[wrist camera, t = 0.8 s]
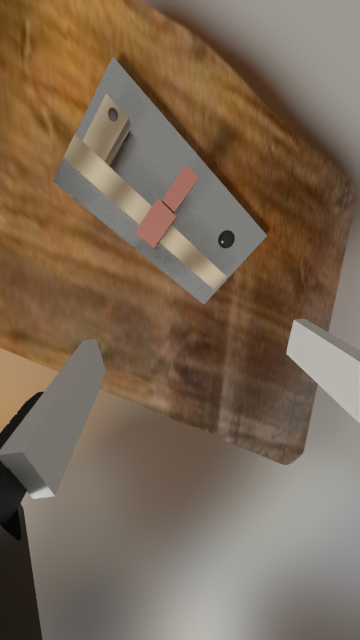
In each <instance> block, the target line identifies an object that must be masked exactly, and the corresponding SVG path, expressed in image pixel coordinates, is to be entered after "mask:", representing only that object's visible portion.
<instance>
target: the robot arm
mask: <svg viewBox="0 0 360 640" xmlns="http://www.w3.org/2000/svg"><path fill="white" fill-rule="evenodd" d="M286 354H287V355H288V356H289V357H290V358H291V359H292V360H293V361H295V362H296V363H297V364H298V365H299V366H300V367H301V368H302V369H303V370H304V371H305V372H306V373H307V374H308V375H309V376H310V377H311V378H312V379H313V380H315V381H316V382H317V383H318V384H319V385H320V386H321V387H322V388H323V389H324V390H325V391H326V392H327V393H328V394H329V395H330V396H331V397H333V398H334V400H336V401H337V402H338V403H339V404H340V405H341V406H342V407H343V408H344V409H345V410H346V411H347V412H348V413H349V414H351V416H352V417H353V418H354V419H356V420H357V421H358V422H359V423H360V351H359V350H357V349H356V348H354V347H352V346H350V345H349V344H347V343H345V342H344V341H342V340H340V339H338V338H336V337H335V336H333V335H332V334H330V333H328V332H326V331H325V330H323V329H321V328H320V327H318V326H316V325H314V324H313V323H311V322H309V321H308V320H306V319H298V320H294V322H293V326H292V330H291V334H290V339H289V343H288V347H287V352H286ZM105 374H106V371H105V367H104V364H103V361H102V357H101V354H100V351H99V348H98V344H97V341H96V339H90V340H83V342H82V343H81V344H80V345H79V347H78V348H77V349H76V351H75V352H74V353H73V355H72V356H71V357H70V359H69V360H68V361H67V363H66V364H65V365H64V367H63V368H62V369H61V370H60V372H59V373H58V375H57V376H56V377H55V378H54V380H53V381H52V382H51V384H50V385H49V386H48V388H47V389H46V390H45V392H38V393H37V394H35V395H34V396H33V397H32V398H30V399H29V400H28V401H26V403H25V404H24V405H23V406H22V407H21V409H20V410H19V411H18V412H17V415H15V416H14V417H13V418H12V419H11V421H10V423H9V424H7V426H6V427H5V428H4V429H3V430H2V432H1V433H0V640H42V634H41V628H40V620H39V613H38V606H37V600H36V593H35V586H34V580H33V572H32V566H31V558H30V551H29V545H28V538H27V531H26V524H25V517H24V511H23V507H22V505H21V501H22V499H23V497H24V495H25V493H26V491H27V492H28V493H29V494H30V495H31V497H32V498H33V499H37V498H43V497H51V496H55V495H56V492H57V490H58V488H59V485H60V483H61V480H62V478H63V475H64V473H65V470H66V468H67V466H68V463H69V461H70V459H71V456H72V454H73V451H74V449H75V446H76V444H77V442H78V439H79V437H80V434H81V432H82V430H83V427H84V425H85V422H86V420H87V418H88V415H89V413H90V410H91V408H92V405H93V403H94V401H95V398H96V396H97V393H98V391H99V389H100V386H101V384H102V381H103V379H104V377H105Z"/></svg>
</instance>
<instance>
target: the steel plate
mask: <svg viewBox="0 0 360 640" xmlns="http://www.w3.org/2000/svg"><path fill="white" fill-rule="evenodd" d="M106 94H107V95H108V96H109V97H110V98H111V99H112V100H113V102H114V103H115V104H116V105H117V106H118V107H119V108H120V109H121V110H122V111H123V112H124V113H125V114H126V116H127V117H128V118H129V121H130V124H131V129H130V131H129V132H128V134H127V136H126V138H125V140H124V141H123V143H122V145H121V147H120V148H119V150H118V152H117V154H116V156H115V157H114V159H113V161H112V163H111V164H110V166H109V167H110V168H112V169H113V170H114V171H115V172H116V173H117V174H118V175H119V176H120V177H121V178H122V179H123V180H124V181H125V182H126V183H128V184H129V185H130V186H131V187H132V188H133V189H134V190H135V191H136V192H137V193H138V194H139V195H140V196H141V197H142V198H144V199H145V200H146V201H147V202H148V203H149V204H150V205H151V206H153V204H154V203H155V201H156V200H157V198H158V199H159V200H160V201H161V202H162V199H163V197H164V196H165V194H166V193H167V192H168V190H169V189H170V187H171V186H172V184H173V183H174V181H175V180H176V178H177V177H178V175H179V174H180V172H181V171H182V170H183V168H184V167H185V165H186V164H187V166H188V167H189V168H190V169H191V170H192V171H193V172H194V173H195V174H196V176H197V177H198V178H199V179H198V181H197V182H196V184H195V185H194V187H193V188H192V189H191V191H190V192H189V193H188V195H187V196H186V198H185V199H184V200H183V202H182V203H181V205H180V206H179V207H178V209H177V210H176V212H175V213H173V212H172V211H171V210H170V209H169V208H168V207H167V208H168V209H169V210H170V211H171V212H172V213H173V214H174V215H175V216H176V219H175V221H174V222H173V223H172V224H171V225H172V226H173V227H174V228H176V229H177V230H178V231H179V232H180V233H181V234H182V235H183V236H184V237H185V238H186V239H187V240H188V241H189V242H190V243H192V244H193V245H194V246H195V247H196V248H197V249H198V250H199V251H200V252H201V253H202V254H203V255H204V256H205V257H206V258H208V259H209V260H210V261H211V262H212V263H213V264H214V265H215V266H216V267H217V268H218V269H219V270H220V271H221V272H222V273H224V274H225V275H226V276H227V277H226V278H225V279H224V281H223V282H222V283H221V284H220V285H219V286H218V287H217V288H216V289H215V290H214V289H212V288H211V287H210V286H209V285H208V284H207V283H206V282H204V281H203V280H202V279H201V278H200V277H199V276H198V275H196V274H195V273H194V272H193V271H192V270H191V269H190V268H188V267H187V266H186V265H185V264H184V263H183V262H182V261H180V260H179V259H178V258H177V257H176V256H175V255H174V254H172V253H171V252H170V251H169V250H168V249H167V248H166V247H164V246H163V245H162V244H161V243H160V242H158V244H157V245H156V247H155V248H153V247H152V246H151V245H149V244H148V243H147V242H146V241H145V240H143V239H142V238H141V237H140V236H139V235H138V234H137V233H136V232H135V231H136V229H137V228H138V227H139V224H138V223H137V222H136V221H135V220H134V219H132V218H131V217H130V216H129V215H128V214H127V213H126V212H124V211H123V210H122V209H121V208H120V207H119V206H118V205H116V204H115V203H114V202H113V201H112V200H111V199H110V198H108V197H107V196H106V195H105V194H104V193H103V192H102V191H100V190H99V189H98V188H97V187H96V186H95V185H94V184H92V183H91V182H90V181H89V180H88V179H87V178H86V177H84V176H83V175H82V174H81V173H80V172H79V171H78V170H76V169H75V168H74V167H73V166H72V165H71V164H70V163H68V162H67V161H66V160H65V159H63V161H62V163H61V165H60V167H59V169H58V171H57V173H56V175H55V177H54V179H53V182H54V183H56V184H57V185H58V186H59V187H61V188H62V189H63V190H64V191H65V192H67V193H68V194H69V195H70V196H72V197H73V198H74V199H75V200H76V201H78V202H79V203H80V204H81V205H83V206H84V207H85V208H86V209H87V210H89V211H90V212H91V213H92V214H94V215H95V216H96V217H97V218H98V219H100V220H101V221H102V222H103V223H105V224H106V225H107V226H108V227H109V228H111V229H112V230H113V231H114V232H116V233H117V234H118V235H119V236H120V237H122V238H123V239H124V240H125V241H127V242H128V243H129V244H130V245H131V246H133V247H134V248H135V249H136V250H138V251H139V252H140V253H141V254H142V255H144V256H145V257H146V258H147V259H149V260H150V261H151V262H152V263H153V264H155V265H156V266H157V267H158V268H160V269H161V270H162V271H163V272H164V273H166V274H167V275H168V276H169V277H171V278H172V279H173V280H174V281H175V282H177V283H178V284H179V285H180V286H182V287H183V288H184V289H185V290H186V291H188V292H189V293H190V294H191V295H193V296H194V297H195V298H196V299H197V300H199V301H200V302H201V303H202V304H205V303H206V302H207V301H208V300H209V298H210V297H211V296H212V295H213V294H214V293H215V292H216V291H217V290H218V289H219V288H220V286H221V285H222V284H223V283H224V282H225V281H226V280H227V279H228V278H229V277H230V276H231V274H232V273H233V272H234V271H235V270H236V269H237V268H238V267H239V266H240V265H241V264H242V262H243V261H244V260H245V259H246V258H247V257H248V256H249V255H250V254H251V253H252V252H253V250H254V249H255V248H256V247H257V246H258V245H259V244H260V243H261V242H262V241H263V240H264V238H265V237H266V236H267V235H266V234H265V233H264V231H263V230H262V229H261V228H260V227H259V226H258V224H257V223H256V222H255V221H254V220H253V219H252V217H251V216H250V215H249V214H248V213H247V212H246V210H245V209H244V208H243V207H242V206H241V205H240V204H239V202H238V201H237V200H236V199H235V198H234V197H233V195H232V194H231V193H230V192H229V191H228V190H227V188H226V187H225V186H224V185H223V184H222V183H221V181H220V180H219V179H218V178H217V177H216V176H215V174H214V173H213V172H212V171H211V170H210V169H209V167H208V166H207V165H206V164H205V163H204V162H203V161H202V159H201V158H200V157H199V156H198V155H197V154H196V152H195V151H194V150H193V149H192V148H191V147H190V145H189V144H188V143H187V142H186V141H185V140H184V138H183V137H182V136H181V135H180V134H179V133H178V131H177V130H176V129H175V128H174V127H173V126H172V124H171V123H170V122H169V121H168V120H167V119H166V118H165V116H164V115H163V114H162V113H161V112H160V111H159V109H158V108H157V107H156V106H155V105H154V104H153V102H152V101H151V100H150V99H149V98H148V97H147V95H146V94H145V93H144V92H143V91H142V90H141V88H140V87H139V86H138V85H137V84H136V83H135V82H134V80H133V79H132V78H131V77H130V76H129V75H128V73H127V72H126V71H125V70H124V69H123V68H122V66H121V65H120V64H119V63H118V62H117V61H116V59H115V58H114V57H112V59H111V61H110V63H109V65H108V67H107V69H106V71H105V74H104V76H103V78H102V80H101V82H100V84H99V86H98V88H97V90H96V92H95V94H94V96H93V98H92V101H91V103H90V105H89V107H88V109H87V111H86V113H85V115H84V117H83V119H82V121H81V123H80V125H79V128H78V130H77V132H76V134H75V135H76V136H77V137H78V138H80V139H81V140H82V141H83V139H84V137H85V135H86V133H87V131H88V129H89V127H90V125H91V123H92V121H93V119H94V117H95V115H96V113H97V111H98V109H99V107H100V105H101V103H102V101H103V99H104V97H105V95H106Z"/></svg>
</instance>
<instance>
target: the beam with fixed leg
mask: <svg viewBox="0 0 360 640" xmlns="http://www.w3.org/2000/svg"><path fill="white" fill-rule="evenodd" d="M130 129H131V124H130V121H129V118H128V117H127V116H126V114H125V113H124V112H123V111H122V110H121V109H120V108H119V107H118V106H117V105H116V104H115V103H114V102H113V100H112V99H111V98H110V97H109V96H108V95H107V94H106V95H105V97H104V99H103V101H102V103H101V105H100V107H99V109H98V111H97V113H96V115H95V117H94V119H93V121H92V123H91V125H90V127H89V129H88V131H87V133H86V135H85V137H84V139H83V141H82V140H81V139H80V138H78V137H77V136H76V135H75V134H74V136H73V139H72V141H71V143H70V145H69V147H68V149H67V151H66V153H65V155H64V157H63V158H64V159H65V160H66V161H67V162H68V163H70V164H71V165H72V166H73V167H74V168H75V169H76V170H78V171H79V172H80V173H81V174H82V175H83V176H84V177H86V178H87V179H88V180H89V181H90V182H91V183H92V184H94V185H95V186H96V187H97V188H98V189H99V190H100V191H102V192H103V193H104V194H105V195H106V196H107V197H108V198H110V199H111V200H112V201H113V202H114V203H115V204H116V205H118V206H119V207H120V208H121V209H122V210H123V211H124V212H126V213H127V214H128V215H129V216H130V217H131V218H132V219H134V220H135V221H136V222H137V223H138V224H139V225H140V224H141V222H142V221H143V219H144V218H145V216H146V215H147V213H148V212H149V210H150V209H151V207H152V206H151V205H150V204H149V203H148V202H147V201H146V200H145V199H144V198H142V197H141V196H140V195H139V194H138V193H137V192H136V191H135V190H134V189H133V188H132V187H131V186H130V185H129V184H128V183H126V182H125V181H124V180H123V179H122V178H121V177H120V176H119V175H118V174H117V173H116V172H115V171H114V170H113V169H112V168H110V167H109V166H110V164H111V163H112V161H113V159H114V157H115V156H116V154H117V152H118V150H119V148H120V147H121V145H122V143H123V141H124V140H125V138H126V136H127V134H128V132H129V131H130ZM159 242H160V243H161V244H162V245H163V246H164V247H166V248H167V249H168V250H169V251H170V252H171V253H172V254H174V255H175V256H176V257H177V258H178V259H179V260H180V261H182V262H183V263H184V264H185V265H186V266H187V267H188V268H190V269H191V270H192V271H193V272H194V273H195V274H196V275H198V276H199V277H200V278H201V279H202V280H203V281H204V282H206V283H207V284H208V285H209V286H210V287H211V288H212V289H214V290H215V289H216V288H217V287H218V286H219V285H220V284H221V283H222V282H223V281H224V279H225V278H226V277H227V276H226V275H225V274H224V273H222V272H221V271H220V270H219V269H218V268H217V267H216V266H215V265H214V264H213V263H212V262H211V261H210V260H209V259H208V258H206V257H205V256H204V255H203V254H202V253H201V252H200V251H199V250H198V249H197V248H196V247H195V246H194V245H193V244H192V243H190V242H189V241H188V240H187V239H186V238H185V237H184V236H183V235H182V234H181V233H180V232H179V231H178V230H177V229H176V228H174V227H173V226H172V225H171V226H170V227H169V228H168V230H167V231H166V232H165V234H164V235H163V237H162V238H161V239H160V241H159Z"/></svg>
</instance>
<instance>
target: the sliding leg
mask: <svg viewBox="0 0 360 640" xmlns="http://www.w3.org/2000/svg"><path fill="white" fill-rule="evenodd" d="M198 179H199V178H198V177H197V176H196V174H195V173H194V172H193V171H192V170H191V169H190V168H189V167H188V166H187V164H186V165H185V167H184V168H183V170H182V171H181V172H180V174H179V175H178V177H177V178H176V180H175V181H174V183H173V184H172V186H171V187H170V189H169V190H168V192H167V193H166V194H165V196H164V197H163V199H162V202H161V201H160V200H159V199H158V198H157V200H156V201H155V203H154V204H153V206H152V207H151V209H150V210H149V212H148V213H147V215H146V216H145V218H144V219H143V221H142V222H141V224H140V225H139V227H138V228H137V229H136V231H135V232H136V233H137V234H138V235H139V236H140V237H141V238H142V239H143V240H145V241H146V242H147V243H148V244H149V245H151V246H152V247H153V248H155V247H156V245H157V244H158V242H159V241H160V239H161V238H162V237H163V235H164V234H165V232H166V231H167V230H168V228H169V227H170V226H171V224H172V223H173V222H174V221H175V219H176V216H175V215H174V214H173V213H175V212H176V210H177V209H178V207H179V206H180V205H181V203H182V202H183V200H184V199H185V198H186V196H187V195H188V193H189V192H190V191H191V189H192V188H193V187H194V185H195V184H196V182H197V181H198ZM167 207H168V208H169V209H170V210H171V211H172V212H173V213H172V212H171V211H170V210H169V209H168V208H167Z"/></svg>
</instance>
